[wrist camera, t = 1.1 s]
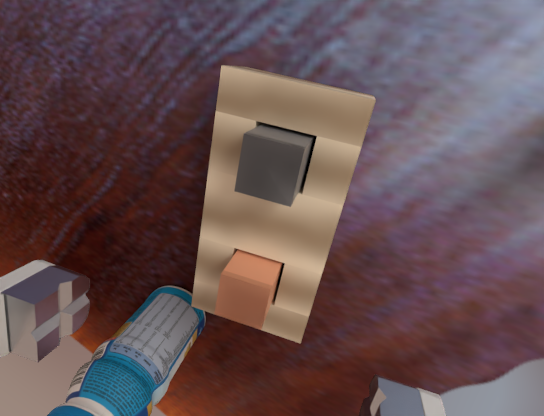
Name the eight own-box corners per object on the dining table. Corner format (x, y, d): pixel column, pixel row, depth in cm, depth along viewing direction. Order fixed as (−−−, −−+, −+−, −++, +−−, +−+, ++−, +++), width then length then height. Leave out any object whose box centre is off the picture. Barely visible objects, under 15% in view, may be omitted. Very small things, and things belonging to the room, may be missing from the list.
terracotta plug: (241, 244, 34) (220, 273, 29) (284, 257, 33) (270, 289, 28) (234, 280, 35) (214, 314, 30) (275, 293, 35) (261, 330, 30)
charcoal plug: (263, 123, 29) (243, 133, 24) (314, 135, 28) (304, 149, 23) (255, 172, 31) (234, 191, 26) (302, 184, 30) (290, 207, 25)
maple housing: (245, 66, 32) (221, 65, 26) (373, 95, 30) (375, 100, 25) (213, 275, 41) (191, 306, 36) (308, 306, 40) (300, 343, 34)
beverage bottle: (204, 285, 42) (87, 443, 24) (212, 339, 45) (113, 515, 27) (144, 279, 44) (-5, 421, 26) (155, 331, 47) (29, 491, 29)
